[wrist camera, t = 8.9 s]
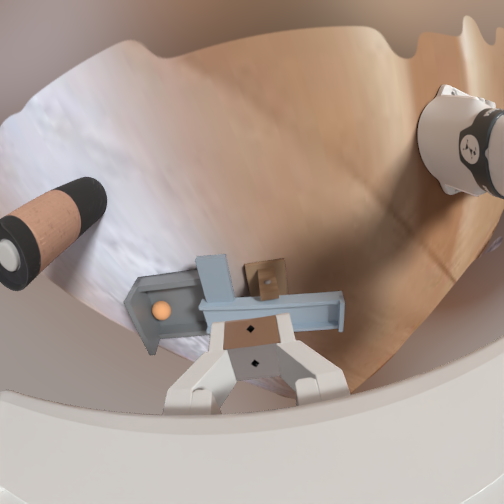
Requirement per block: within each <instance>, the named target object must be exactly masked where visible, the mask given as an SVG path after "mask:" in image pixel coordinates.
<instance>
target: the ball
mask: <svg viewBox="0 0 504 504" xmlns="http://www.w3.org/2000/svg"><path fill="white" fill-rule="evenodd" d="M152 313H153V315H154V317H155V318H156V319H158V320H165V319H167V318H168V317H169V316H170V314H171V307H170V305H169V304H168V303H167V302H165V301H158V302H156V303H155V304H154V305H153V307H152Z"/></svg>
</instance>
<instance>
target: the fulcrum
mask: <svg viewBox="0 0 504 504" xmlns="http://www.w3.org/2000/svg"><path fill="white" fill-rule="evenodd" d="M245 270H246V276H247V281H248V287H249V292H250V297H259V296H261V301H265V300H271V299H278V298H279V295H288V288H287V278H286V268H285V260H284V258H282V259H275V260H268V261H261V262H255V263H248V264H245Z"/></svg>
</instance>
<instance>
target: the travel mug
mask: <svg viewBox="0 0 504 504" xmlns="http://www.w3.org/2000/svg"><path fill="white" fill-rule="evenodd" d="M106 206H107V196H106V192H105V190H104V188H103V186H102V185H101V184H100V183H99V182H98V181H97V180H96V179H94V178H91V177H83V178H80V179H77V180H74V181H72V182H69V183H67V184H64V185H62V186H60V187H57V188H55V189H53V190H50V191H48V192H46V193H44V194H43V195H41V196H39V197H37V198H35V199H33V200H31V201H30V202H28V203H26V204H24V205H23V206H21V207H19V208H18V209H16V210H14V211H13V212H11V213H9V214H8V215H6V216H4V217H3V218H1V219H0V282H1V283H2V284H3V285H4V286H5V287H7V288H9V289H10V290H13V291H20V290H22V289H24V288H25V287H26V286H27V285H28V284H29V283H30V282H31V281H32V280H33V279H34V278H35V277H36V276H37V275H38V274H40V273H41V272H42V271H43V270H44V269H45V268H46V267H47V266H48V265H49V264H50V263H51V262H52V261H53V260H54V259H55V258H57V257H58V256H59V255H60V254H61V253H62V252H63V251H64V250H65V249H67V248H68V247H69V246H70V245H71V244H72V243H73V242H74V241H76V240H77V239H78V238H79V237H80V236H81V235H82V234H83V233H84V232H85V231H86V230H87V229H88V228H89V227H90V226H91V225H93V224H94V223H95V222H96V221H97V220H98V219H99V218H100V217H101V216H102V215H103V213H104V212H105V209H106Z"/></svg>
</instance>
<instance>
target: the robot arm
mask: <svg viewBox="0 0 504 504" xmlns="http://www.w3.org/2000/svg"><path fill="white" fill-rule="evenodd" d="M451 92H452V94H451ZM418 146H419V151H420V154H421V157H422V160H423V162H424V164H425V166H426V167H427V169H428V170H429V172H430V173H431V174H432V175H433V176H434V177H436V178H437V179H438V180H439V182H440V184H441V186H442V189H443V191H444V192H445V193H446V194H449V195H453V194H456V193H458V192H461V191H462V192H465V193H468V194H470V195H473V196H477V197H478V196H479V195H481V194H484V193H486V192H488V193H489V194H491V195H493V196H495V197H499V198H502V199H504V110H502V109H498V108H495V103H494V102H492V101H488V100H485V99H483V98H480V97H473V96H470V95H468V94H466V93H464V92H462V91H460V90H458V89H456V88H454V87H452V86H450V85H442V86H441V87H440V89H439V91H438V94H437V96H436V97H435V98H434V99H433V100H432V101H431V102H430V103H429V104H428V105H427V106H426V107H425V109H424V110H423V112H422V114H421V117H420V120H419V125H418ZM275 376H280V377H281V378H282V379H283V380H284V381H285V382H286V383H287V384H288V385H289V386H290V387H291V388H292V389H293V390H294V391H295V392H296V405H297V406H295V407H288V408H281V409H274V410H266V411H257V412H247V413H234V414H222V413H221V411H220V407H221V406H222V404H223V403H224V401H225V400H226V398H227V397H228V395H229V393H230V392H231V391H232V389H233V387H234V386H235V384H236V382H237V381H241V380H249V379H256V378H266V377H275ZM0 504H504V336H502V337H500V338H498V339H496V340H495V341H493V342H491V343H489V344H487V345H485V346H483V347H481V348H479V349H477V350H475V351H473V352H471V353H469V354H467V355H465V356H463V357H460V358H458V359H456V360H454V361H452V362H449V363H447V364H444V365H442V366H439V367H437V368H434V369H432V370H429V371H427V372H424V373H421V374H419V375H416V376H413V377H411V378H407V379H404V380H401V381H398V382H395V383H392V384H389V385H386V386H382V387H379V388H376V389H373V390H368V391H365V392H361V393H357V394H353V395H350V392H349V389H348V386H347V383H346V380H345V377H344V374H343V371H342V370H341V369H340V368H338V367H337V366H335V365H334V364H333V363H331V362H330V361H328V360H327V359H325V358H324V357H323V356H321V355H320V354H318V353H317V352H315V351H314V350H313V349H311V348H310V347H308V346H307V345H306V344H304V343H303V342H301V341H300V340H297V341H296V340H295V335H294V331H293V327H292V322H291V318H290V314H289V313H288V312H287V313H282V314H276V315H271V316H265V317H258V318H251V319H241V320H231V321H222V322H213V323H212V325H211V332H210V341H209V349H208V352H204V353H203V354H202V355H201V356H200V357H199V358H198V359H197V360H196V361H195V362H194V363H193V365H191V366H190V368H189V369H188V370H187V371H186V372H185V373H184V374H183V375H182V376H181V377H180V378H179V379H178V380H177V381H176V382H175V383H174V384H173V385H172V386H171V387H170V388H169V389H168V390H167V395H166V400H165V405H164V409H163V415H153V414H136V413H123V412H115V411H106V410H98V409H91V408H84V407H79V406H73V405H67V404H62V403H58V402H53V401H49V400H44V399H40V398H36V397H32V396H28V395H25V394H21V393H18V392H15V391H12V390H3V391H2V392H0Z"/></svg>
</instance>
